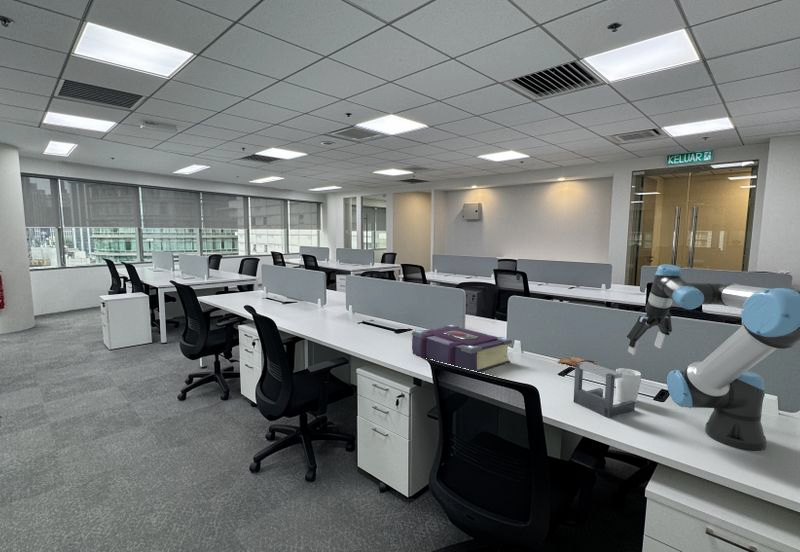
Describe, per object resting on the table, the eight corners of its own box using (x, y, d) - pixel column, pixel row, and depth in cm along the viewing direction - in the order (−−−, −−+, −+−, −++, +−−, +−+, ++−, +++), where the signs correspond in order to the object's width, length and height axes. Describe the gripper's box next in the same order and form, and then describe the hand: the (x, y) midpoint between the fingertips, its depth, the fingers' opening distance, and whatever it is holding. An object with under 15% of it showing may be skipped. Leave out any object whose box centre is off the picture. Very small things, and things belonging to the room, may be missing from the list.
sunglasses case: (555, 362, 204) (559, 350, 206) (560, 366, 208) (564, 355, 210) (589, 371, 190) (593, 359, 192) (594, 376, 195) (598, 363, 196)
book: (468, 376, 183) (469, 347, 182) (408, 354, 218) (409, 329, 217) (511, 363, 204) (512, 337, 202) (450, 344, 239) (450, 322, 238)
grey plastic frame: (599, 395, 161) (601, 358, 159) (635, 410, 147) (637, 370, 145) (573, 401, 155) (575, 363, 153) (608, 418, 141) (611, 375, 139)
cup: (613, 402, 154) (615, 373, 153) (613, 394, 162) (615, 366, 161) (640, 407, 150) (642, 377, 149) (638, 398, 158) (640, 370, 157)
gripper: (674, 294, 153) (660, 339, 162) (624, 304, 146) (612, 350, 155) (692, 303, 146) (676, 349, 155) (641, 313, 140) (627, 361, 149)
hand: (644, 350), depth 155 cm, fingers open, 13 cm apart
